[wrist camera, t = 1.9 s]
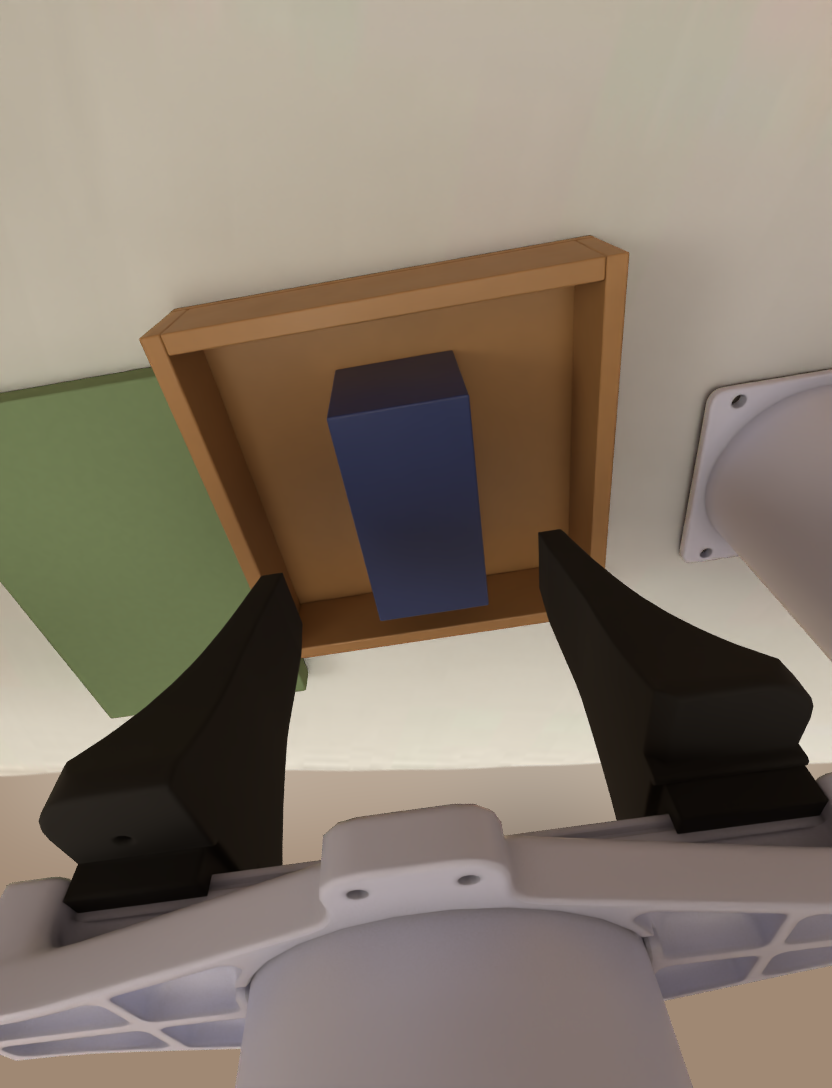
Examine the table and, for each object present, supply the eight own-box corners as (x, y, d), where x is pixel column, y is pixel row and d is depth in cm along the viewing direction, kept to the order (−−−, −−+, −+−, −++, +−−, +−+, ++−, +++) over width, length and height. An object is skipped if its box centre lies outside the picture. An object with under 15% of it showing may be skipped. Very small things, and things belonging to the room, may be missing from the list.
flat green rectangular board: (181, 361, 18) (170, 373, 17) (308, 671, 28) (306, 690, 27) (-103, 410, 19) (-129, 424, 18) (119, 699, 28) (110, 719, 27)
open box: (591, 234, 17) (630, 251, 14) (578, 565, 24) (601, 614, 22) (173, 309, 17) (137, 338, 15) (291, 608, 25) (282, 661, 22)
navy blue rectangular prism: (453, 349, 18) (469, 394, 15) (473, 540, 23) (489, 605, 20) (334, 369, 18) (325, 418, 15) (379, 554, 23) (380, 622, 20)
